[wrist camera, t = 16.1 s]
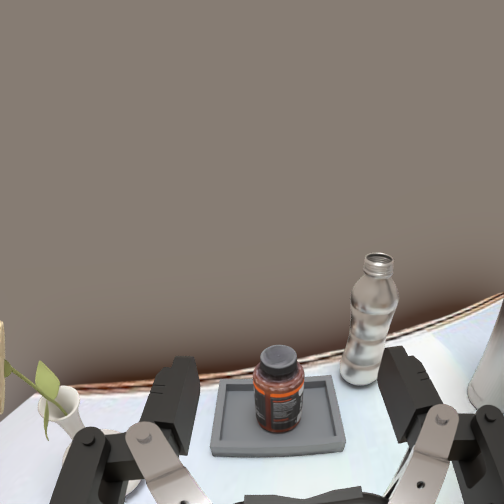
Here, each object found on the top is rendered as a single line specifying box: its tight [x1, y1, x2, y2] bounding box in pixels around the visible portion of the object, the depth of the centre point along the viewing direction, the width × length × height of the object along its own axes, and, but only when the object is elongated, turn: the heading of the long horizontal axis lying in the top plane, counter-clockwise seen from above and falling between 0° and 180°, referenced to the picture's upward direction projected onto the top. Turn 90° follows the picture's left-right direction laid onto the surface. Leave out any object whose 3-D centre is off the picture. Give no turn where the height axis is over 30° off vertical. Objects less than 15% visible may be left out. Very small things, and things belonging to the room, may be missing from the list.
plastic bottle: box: [340, 253, 399, 386], centre depth 40 cm, size 6×7×20 cm
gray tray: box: [210, 375, 346, 457], centre depth 37 cm, size 16×12×2 cm
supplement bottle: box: [253, 345, 304, 433], centre depth 35 cm, size 6×6×11 cm
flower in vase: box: [0, 321, 141, 496], centre depth 23 cm, size 13×11×25 cm
